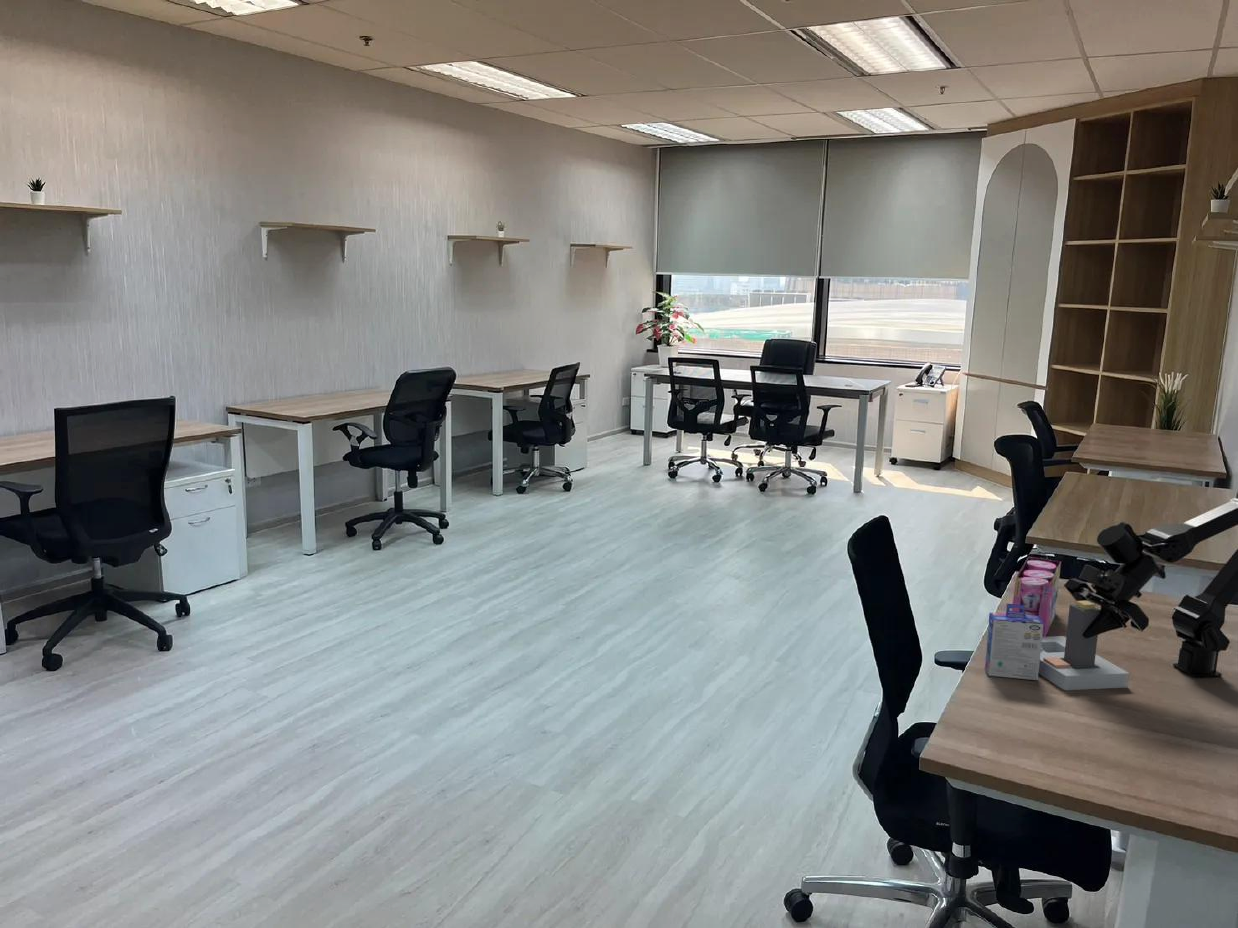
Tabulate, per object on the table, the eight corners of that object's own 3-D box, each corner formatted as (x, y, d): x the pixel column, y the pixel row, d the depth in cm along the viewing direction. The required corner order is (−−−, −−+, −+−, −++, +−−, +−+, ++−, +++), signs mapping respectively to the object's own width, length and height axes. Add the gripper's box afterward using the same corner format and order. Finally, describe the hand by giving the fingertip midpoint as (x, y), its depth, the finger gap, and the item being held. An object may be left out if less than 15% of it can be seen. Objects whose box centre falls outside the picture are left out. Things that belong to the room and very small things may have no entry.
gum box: (1044, 642, 210) (1050, 584, 208) (1007, 635, 214) (1013, 578, 212) (1056, 613, 230) (1062, 560, 228) (1021, 607, 234) (1027, 555, 232)
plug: (1080, 659, 192) (1087, 599, 190) (1094, 666, 188) (1101, 605, 186) (1063, 660, 191) (1070, 600, 189) (1077, 667, 187) (1083, 606, 185)
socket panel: (1061, 648, 206) (1063, 633, 205) (1127, 687, 186) (1129, 670, 185) (1004, 651, 204) (1005, 635, 203) (1064, 690, 183) (1066, 673, 183)
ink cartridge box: (1032, 671, 193) (1040, 604, 190) (1039, 681, 187) (1047, 613, 185) (982, 666, 195) (989, 600, 192) (987, 676, 189) (994, 608, 187)
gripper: (1076, 540, 196) (1025, 593, 195) (1143, 565, 178) (1087, 623, 177) (1104, 575, 199) (1054, 627, 198) (1173, 602, 181) (1118, 659, 180)
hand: (1076, 633), depth 188 cm, fingers closed on plug, 4 cm apart
